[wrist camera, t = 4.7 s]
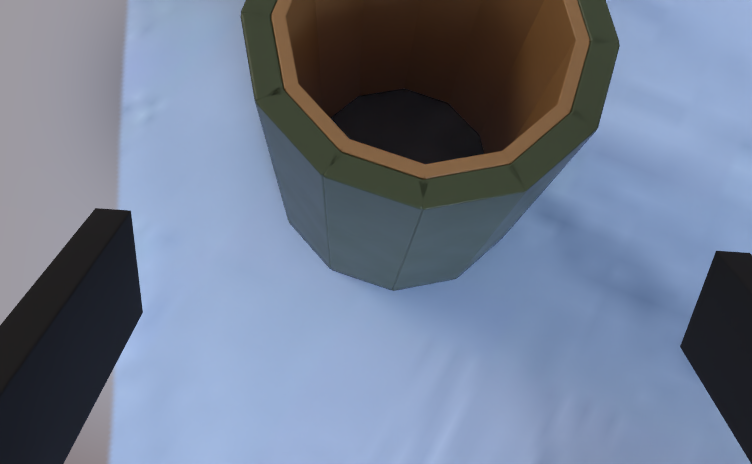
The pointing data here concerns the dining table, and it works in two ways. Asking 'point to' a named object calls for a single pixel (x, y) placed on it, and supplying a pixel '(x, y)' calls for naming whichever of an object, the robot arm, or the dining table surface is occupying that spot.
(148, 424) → the dining table surface
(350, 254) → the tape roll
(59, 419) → the robot arm
